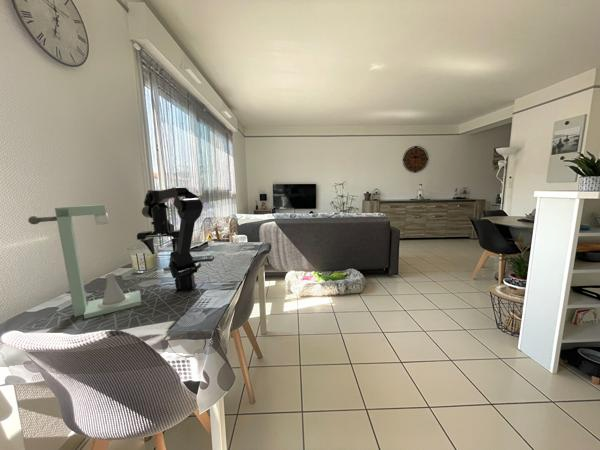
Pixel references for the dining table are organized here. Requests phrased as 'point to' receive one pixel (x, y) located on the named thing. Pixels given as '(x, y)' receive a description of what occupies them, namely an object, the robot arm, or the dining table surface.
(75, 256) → the bench press
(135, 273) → the dining table surface
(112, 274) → the flask
